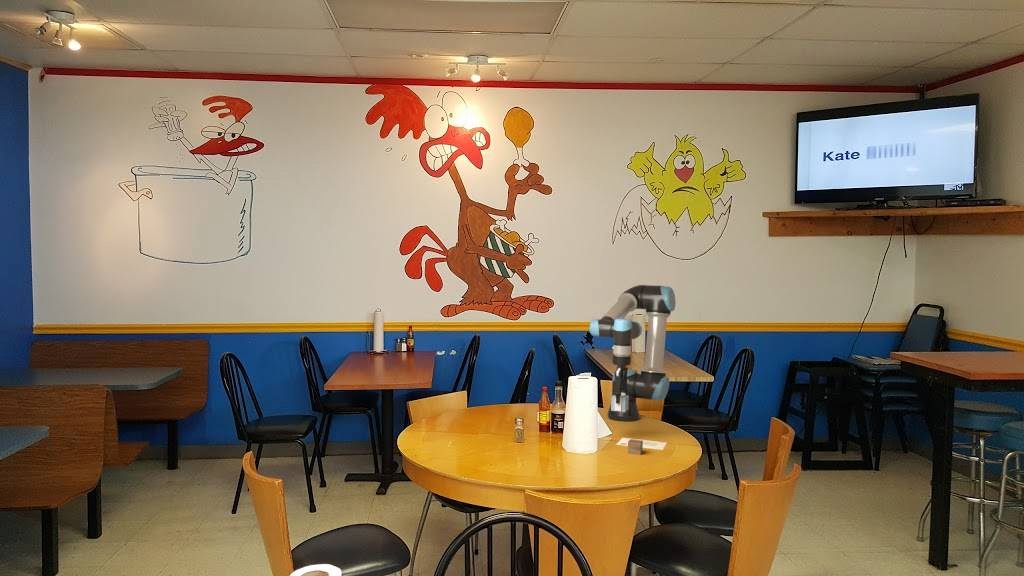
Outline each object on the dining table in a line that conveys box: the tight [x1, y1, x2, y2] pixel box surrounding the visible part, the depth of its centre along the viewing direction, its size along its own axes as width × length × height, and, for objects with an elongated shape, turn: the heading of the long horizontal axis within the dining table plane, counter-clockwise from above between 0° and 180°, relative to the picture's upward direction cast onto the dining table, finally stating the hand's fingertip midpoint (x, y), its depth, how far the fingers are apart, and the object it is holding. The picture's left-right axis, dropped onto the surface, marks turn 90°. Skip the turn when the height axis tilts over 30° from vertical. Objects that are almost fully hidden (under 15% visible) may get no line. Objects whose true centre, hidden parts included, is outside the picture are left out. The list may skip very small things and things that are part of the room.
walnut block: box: [627, 438, 644, 456], centre depth 301 cm, size 5×5×5 cm
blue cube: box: [610, 395, 629, 412], centre depth 321 cm, size 6×6×6 cm
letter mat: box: [616, 437, 667, 451], centre depth 316 cm, size 16×22×1 cm
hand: (619, 409), depth 321 cm, fingers closed on blue cube, 6 cm apart
